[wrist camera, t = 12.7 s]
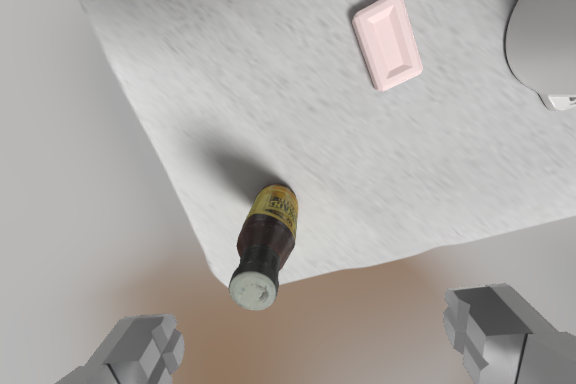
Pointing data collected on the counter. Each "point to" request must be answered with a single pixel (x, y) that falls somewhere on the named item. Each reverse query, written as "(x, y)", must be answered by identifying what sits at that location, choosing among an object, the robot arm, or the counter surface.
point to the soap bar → (387, 43)
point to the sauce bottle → (264, 247)
